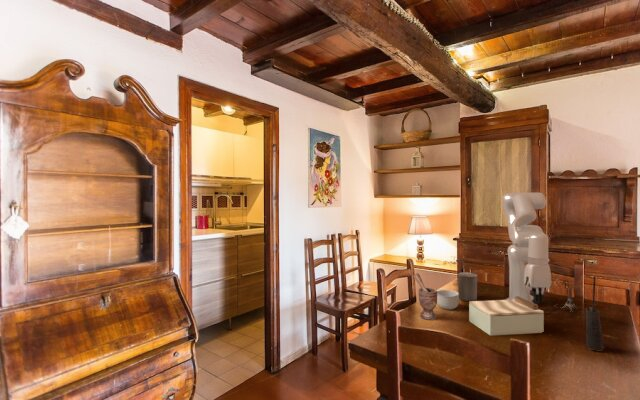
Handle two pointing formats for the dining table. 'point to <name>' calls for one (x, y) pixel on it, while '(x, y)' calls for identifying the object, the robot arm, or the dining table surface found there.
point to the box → (506, 322)
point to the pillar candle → (467, 286)
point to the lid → (507, 307)
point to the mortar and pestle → (426, 299)
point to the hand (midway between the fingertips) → (537, 302)
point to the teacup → (447, 299)
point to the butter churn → (593, 326)
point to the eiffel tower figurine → (569, 301)
